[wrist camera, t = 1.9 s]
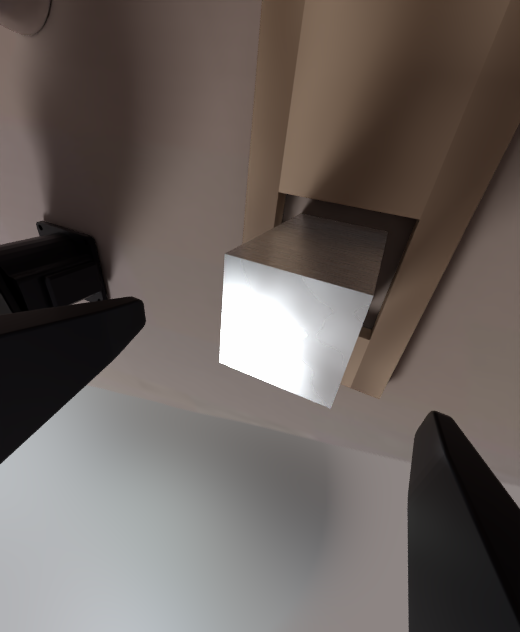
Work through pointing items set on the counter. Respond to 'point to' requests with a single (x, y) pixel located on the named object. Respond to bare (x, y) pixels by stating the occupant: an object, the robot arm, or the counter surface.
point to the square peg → (299, 303)
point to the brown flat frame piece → (384, 132)
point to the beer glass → (24, 15)
